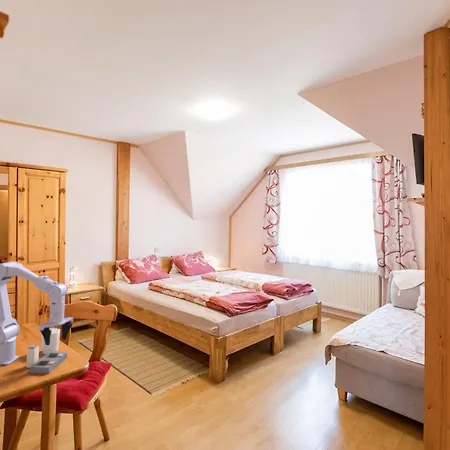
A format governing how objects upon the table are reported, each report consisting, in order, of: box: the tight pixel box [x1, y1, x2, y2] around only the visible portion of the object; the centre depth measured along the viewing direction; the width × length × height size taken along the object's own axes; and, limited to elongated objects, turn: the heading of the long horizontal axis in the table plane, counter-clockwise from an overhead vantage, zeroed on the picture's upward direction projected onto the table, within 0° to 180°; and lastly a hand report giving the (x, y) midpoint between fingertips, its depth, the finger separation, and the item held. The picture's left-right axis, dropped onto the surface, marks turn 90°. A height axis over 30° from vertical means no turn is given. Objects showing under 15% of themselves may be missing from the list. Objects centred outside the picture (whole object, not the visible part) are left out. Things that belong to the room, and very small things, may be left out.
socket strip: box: [29, 351, 68, 374], centre depth 138 cm, size 8×15×3 cm, turn 1°
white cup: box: [41, 327, 61, 355], centre depth 151 cm, size 8×8×10 cm
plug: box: [26, 344, 40, 369], centre depth 136 cm, size 3×3×9 cm
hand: (55, 341), depth 139 cm, fingers open, 7 cm apart
